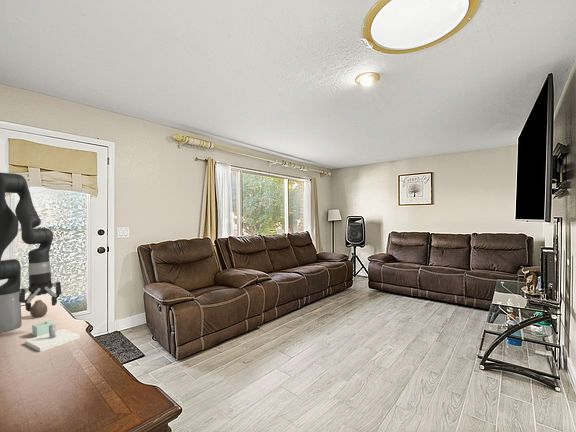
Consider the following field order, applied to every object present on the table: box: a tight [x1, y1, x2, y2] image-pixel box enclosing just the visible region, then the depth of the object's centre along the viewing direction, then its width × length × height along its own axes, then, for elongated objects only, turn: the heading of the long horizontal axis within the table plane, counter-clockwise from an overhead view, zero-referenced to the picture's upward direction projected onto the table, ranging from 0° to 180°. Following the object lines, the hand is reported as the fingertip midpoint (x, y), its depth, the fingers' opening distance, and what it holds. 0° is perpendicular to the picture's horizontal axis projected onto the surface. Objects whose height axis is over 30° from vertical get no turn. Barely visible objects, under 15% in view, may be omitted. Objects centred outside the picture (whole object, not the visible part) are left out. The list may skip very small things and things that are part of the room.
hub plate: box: [24, 323, 80, 353], centre depth 116 cm, size 16×13×7 cm
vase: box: [29, 299, 48, 319], centre depth 150 cm, size 7×7×9 cm
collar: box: [31, 320, 54, 337], centre depth 125 cm, size 6×6×4 cm
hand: (41, 308), depth 125 cm, fingers open, 8 cm apart
